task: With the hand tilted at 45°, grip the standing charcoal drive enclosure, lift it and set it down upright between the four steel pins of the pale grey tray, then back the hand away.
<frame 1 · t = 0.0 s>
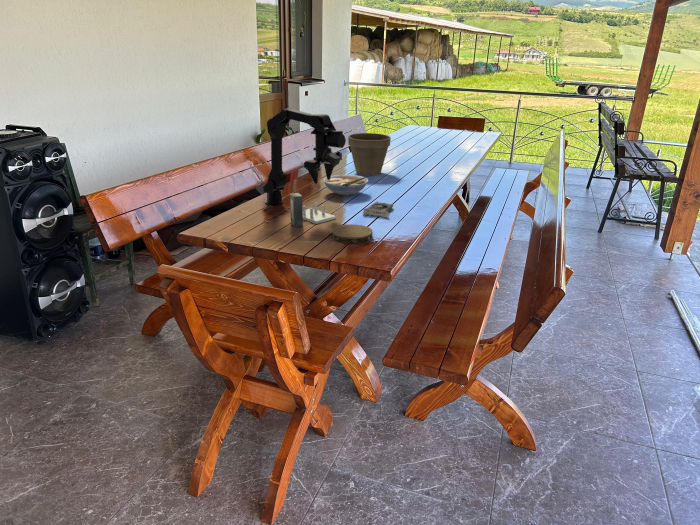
hand: (322, 181, 228), 15 cm above the table, tool pointing down, fingers open, 9 cm apart
drive: (296, 225, 218), on the table
ramen bowl: (345, 194, 266), on the table
plant pot: (368, 173, 311), on the table
pin tray: (313, 217, 229), on the table
graphics card: (381, 213, 237), on the table
brown flat round piece: (352, 238, 205), on the table
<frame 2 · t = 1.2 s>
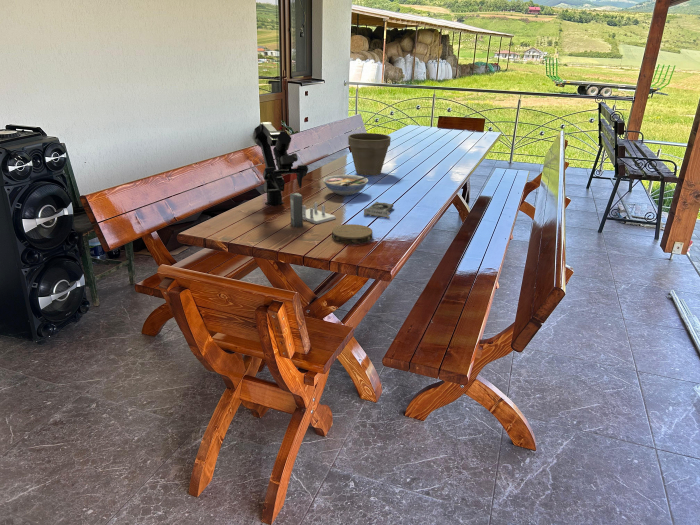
hand: (290, 189, 220), 13 cm above the table, tool tilted 45°, fingers open, 9 cm apart
nothing on the table moved.
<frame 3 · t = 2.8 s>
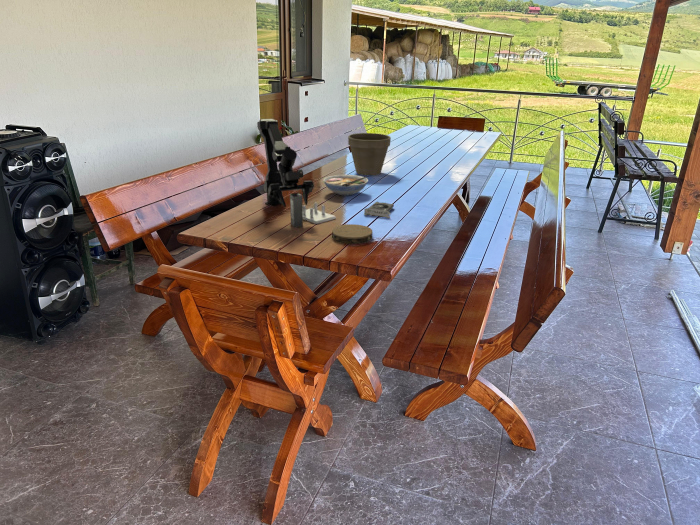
hand: (296, 205, 215), 8 cm above the table, tool tilted 45°, fingers open, 9 cm apart
nothing on the table moved.
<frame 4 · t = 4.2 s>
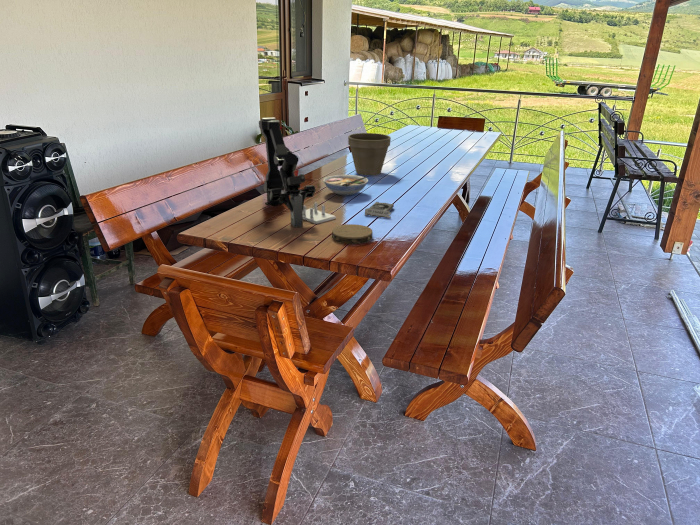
hand: (297, 210, 214), 7 cm above the table, tool tilted 45°, fingers closed on drive, 4 cm apart
drive: (296, 225, 218), on the table, touching gripper
everything else where it was.
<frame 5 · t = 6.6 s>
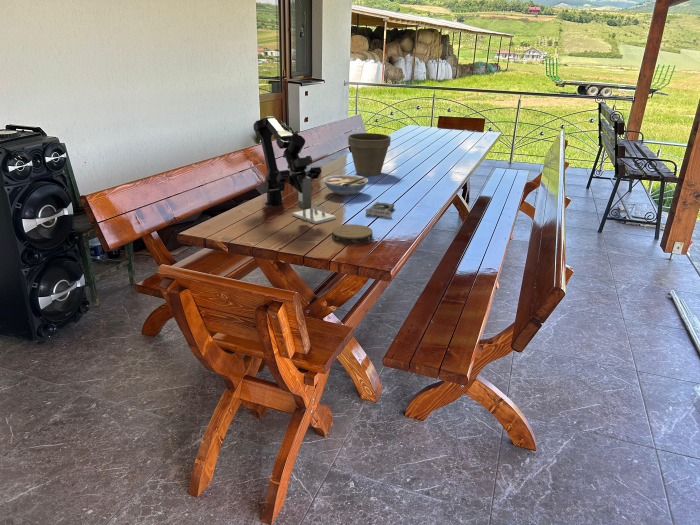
hand: (305, 192, 216), 13 cm above the table, tool tilted 45°, fingers closed on drive, 4 cm apart
drive: (304, 207, 220), point 6 cm above the table, touching gripper
everything else where it was.
when the fingers open (9 cm above the table, at t = 9.0 s): drive stays where it is, resting on pin tray.
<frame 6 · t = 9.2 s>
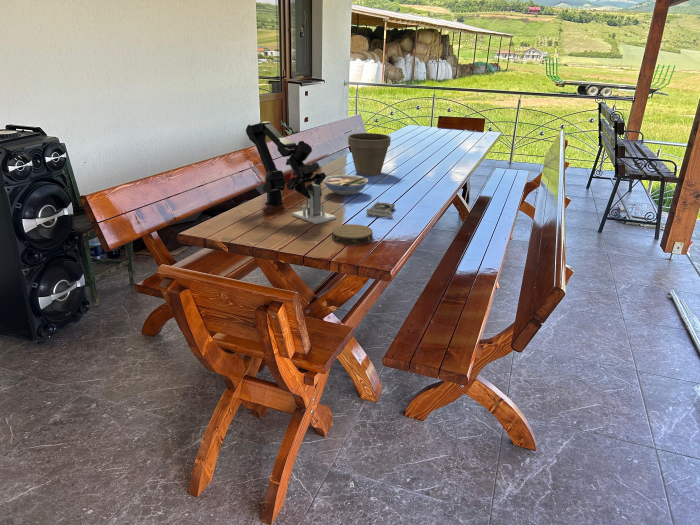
hand: (315, 197, 224), 9 cm above the table, tool tilted 45°, fingers open, 6 cm apart
drive: (313, 214, 228), point 1 cm above the table, touching pin tray
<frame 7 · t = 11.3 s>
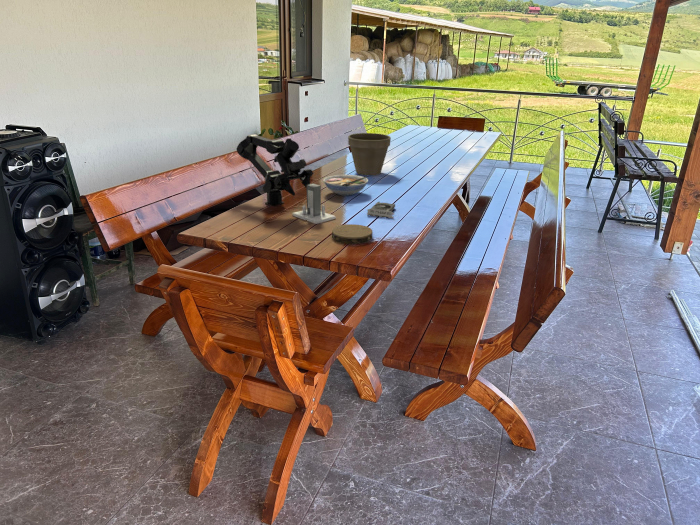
hand: (302, 193, 230), 9 cm above the table, tool tilted 45°, fingers open, 9 cm apart
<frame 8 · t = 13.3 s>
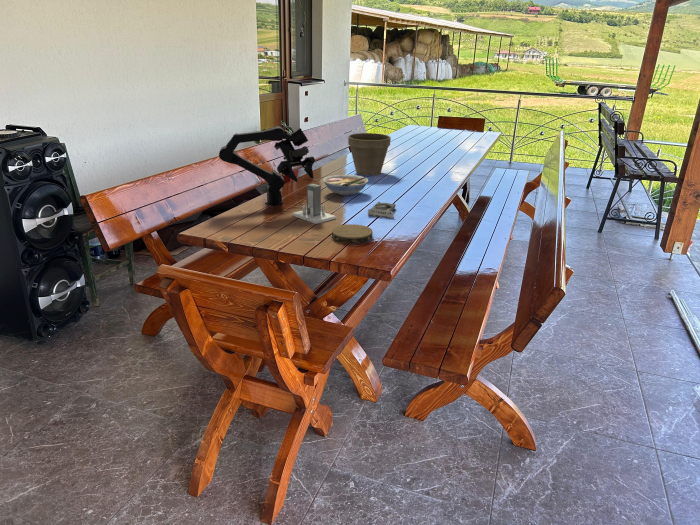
hand: (305, 179, 235), 14 cm above the table, tool tilted 45°, fingers open, 9 cm apart
at the end: drive 0.0 cm off-centre on the pin tray, point 1.2 cm above the pin tray's base; drive tilted 0°; the gripper is holding nothing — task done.
